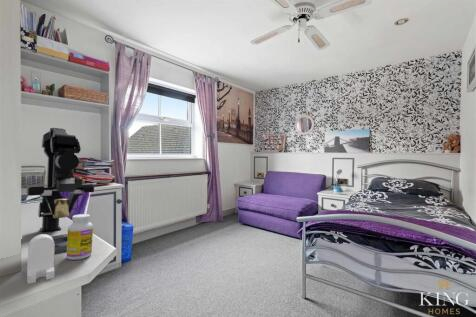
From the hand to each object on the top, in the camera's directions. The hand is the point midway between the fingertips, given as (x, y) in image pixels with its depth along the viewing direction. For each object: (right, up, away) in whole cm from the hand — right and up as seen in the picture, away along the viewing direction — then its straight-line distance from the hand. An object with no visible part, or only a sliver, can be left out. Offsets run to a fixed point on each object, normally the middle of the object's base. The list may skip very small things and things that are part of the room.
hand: (61, 213), depth 84 cm
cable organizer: (+10, -11, -21) cm, 26 cm away
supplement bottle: (+12, -12, -9) cm, 19 cm away
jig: (0, -11, 0) cm, 11 cm away
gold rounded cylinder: (0, -1, 0) cm, 1 cm away
